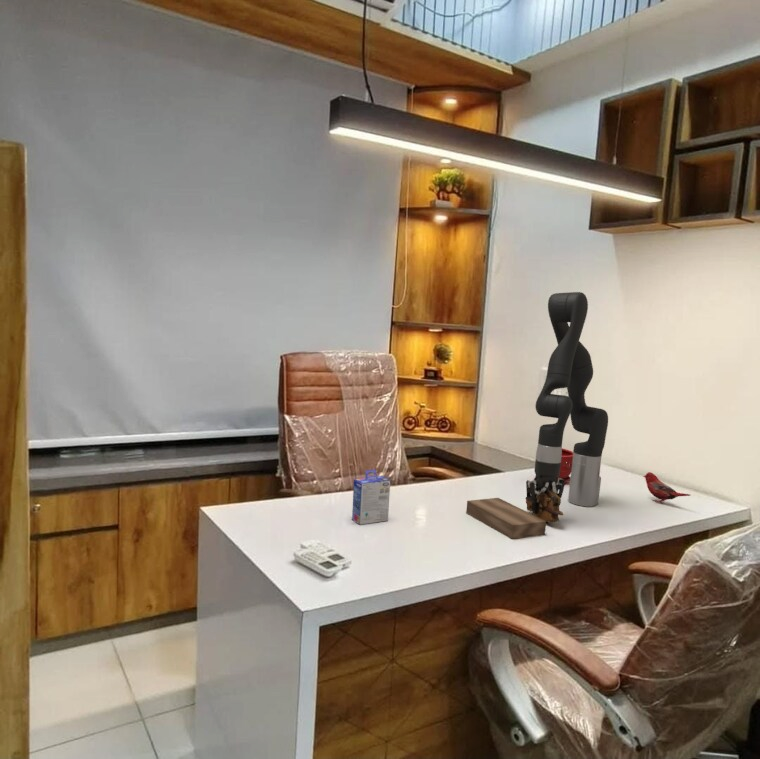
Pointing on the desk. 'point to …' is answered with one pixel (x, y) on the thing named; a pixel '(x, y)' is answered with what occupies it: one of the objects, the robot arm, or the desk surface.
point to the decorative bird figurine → (660, 489)
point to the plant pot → (566, 465)
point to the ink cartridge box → (371, 499)
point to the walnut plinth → (506, 518)
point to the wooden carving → (547, 506)
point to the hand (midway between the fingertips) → (542, 512)
